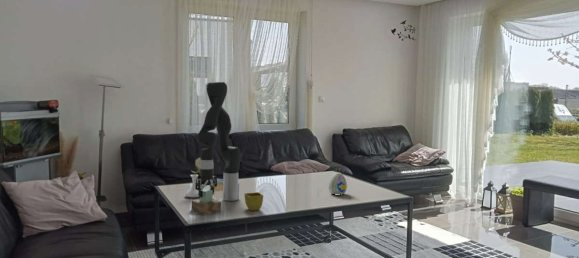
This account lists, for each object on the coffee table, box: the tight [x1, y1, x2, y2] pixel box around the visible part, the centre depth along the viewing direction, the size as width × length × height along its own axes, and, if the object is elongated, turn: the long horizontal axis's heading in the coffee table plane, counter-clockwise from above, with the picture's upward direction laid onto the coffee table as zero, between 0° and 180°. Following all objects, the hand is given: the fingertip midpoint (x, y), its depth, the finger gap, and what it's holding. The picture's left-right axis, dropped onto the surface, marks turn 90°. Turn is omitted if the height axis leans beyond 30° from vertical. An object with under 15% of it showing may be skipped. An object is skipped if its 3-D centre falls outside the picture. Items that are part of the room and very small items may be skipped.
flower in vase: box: [184, 157, 201, 198], centre depth 277 cm, size 13×11×25 cm
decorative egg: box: [328, 172, 348, 195], centre depth 296 cm, size 12×12×15 cm
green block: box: [199, 188, 214, 202], centre depth 246 cm, size 5×5×6 cm
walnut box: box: [191, 198, 222, 216], centre depth 246 cm, size 12×12×6 cm
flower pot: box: [244, 191, 264, 212], centre depth 252 cm, size 9×9×9 cm
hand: (206, 195), depth 246 cm, fingers open, 8 cm apart
